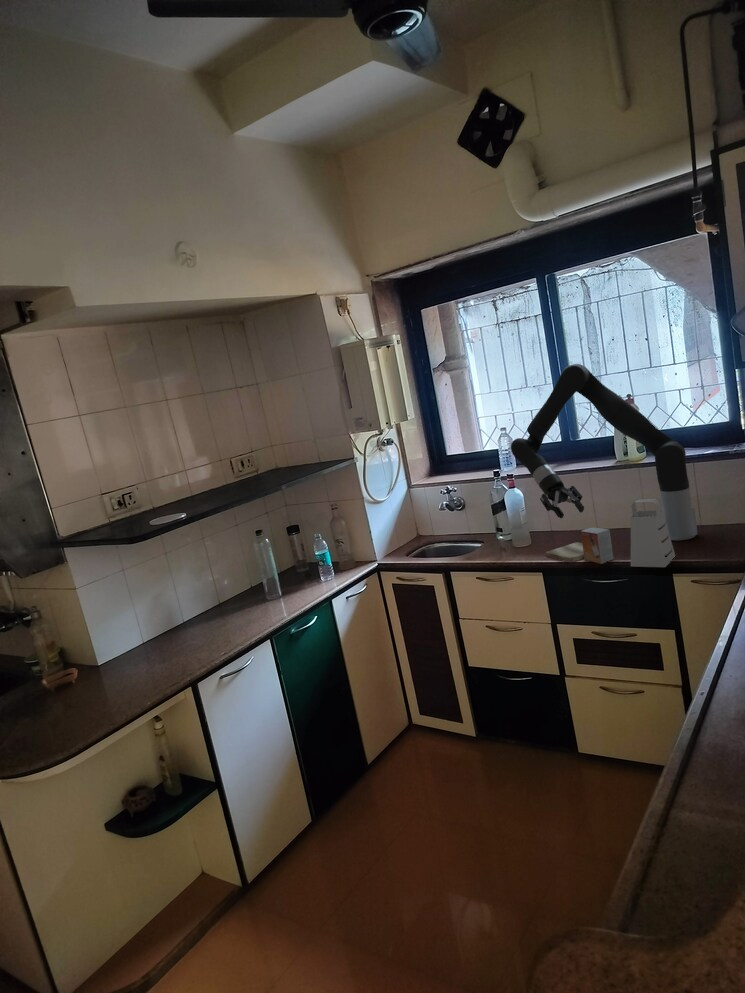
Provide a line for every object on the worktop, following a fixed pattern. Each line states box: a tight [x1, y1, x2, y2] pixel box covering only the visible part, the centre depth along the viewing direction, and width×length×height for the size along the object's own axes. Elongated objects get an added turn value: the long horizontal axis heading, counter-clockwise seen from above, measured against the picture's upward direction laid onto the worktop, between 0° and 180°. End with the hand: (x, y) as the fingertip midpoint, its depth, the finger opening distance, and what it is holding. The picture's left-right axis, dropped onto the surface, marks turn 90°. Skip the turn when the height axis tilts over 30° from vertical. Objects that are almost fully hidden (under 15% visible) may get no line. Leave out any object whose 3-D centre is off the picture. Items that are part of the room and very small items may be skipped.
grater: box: [630, 498, 676, 568], centre depth 209 cm, size 10×10×20 cm
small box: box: [580, 526, 614, 565], centre depth 222 cm, size 8×6×10 cm
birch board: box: [545, 541, 584, 563], centre depth 235 cm, size 14×14×2 cm
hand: (572, 513), depth 230 cm, fingers open, 8 cm apart
